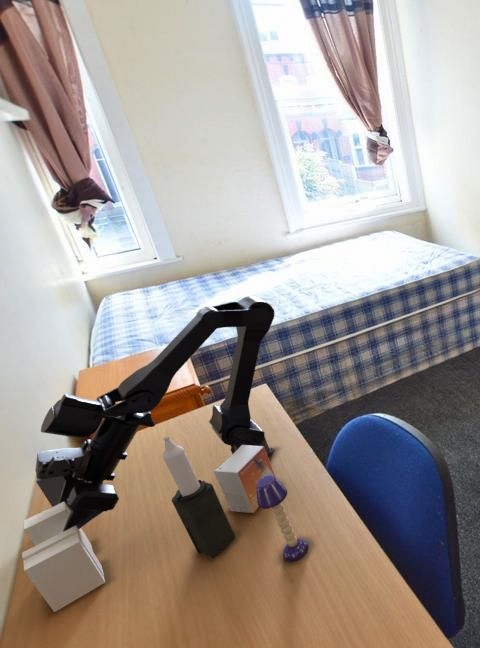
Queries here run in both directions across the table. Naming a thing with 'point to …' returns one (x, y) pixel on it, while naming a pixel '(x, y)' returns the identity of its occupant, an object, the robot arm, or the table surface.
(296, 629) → the table surface
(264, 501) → the toy lamp
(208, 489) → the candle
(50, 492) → the grey books
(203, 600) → the table surface
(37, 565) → the white books
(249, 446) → the small box
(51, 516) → the white tall block
